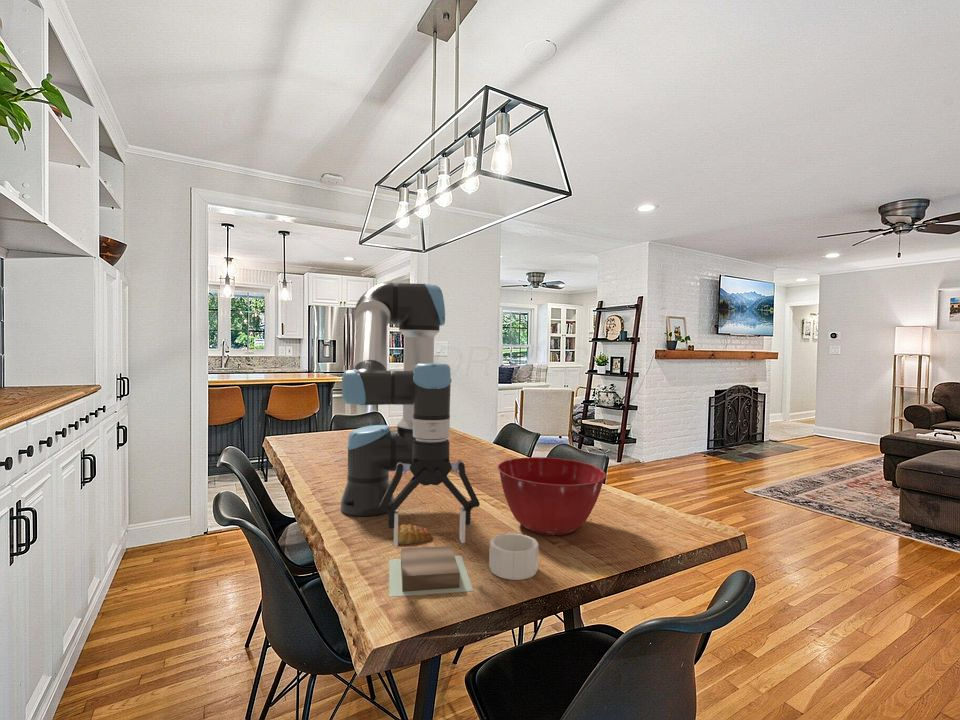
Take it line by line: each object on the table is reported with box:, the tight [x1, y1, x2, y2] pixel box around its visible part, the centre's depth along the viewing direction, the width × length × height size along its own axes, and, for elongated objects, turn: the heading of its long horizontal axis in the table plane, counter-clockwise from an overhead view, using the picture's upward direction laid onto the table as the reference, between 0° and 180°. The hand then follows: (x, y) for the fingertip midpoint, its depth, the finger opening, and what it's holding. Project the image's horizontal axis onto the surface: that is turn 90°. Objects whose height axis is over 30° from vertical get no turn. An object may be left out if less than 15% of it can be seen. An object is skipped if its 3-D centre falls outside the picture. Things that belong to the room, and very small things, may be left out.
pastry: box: [392, 523, 433, 545], centre depth 121 cm, size 9×7×4 cm
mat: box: [388, 555, 474, 598], centre depth 102 cm, size 16×16×1 cm
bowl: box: [488, 532, 539, 581], centre depth 105 cm, size 10×10×6 cm
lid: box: [400, 545, 460, 592], centre depth 102 cm, size 13×11×3 cm
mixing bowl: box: [497, 456, 607, 536], centre depth 132 cm, size 28×28×16 cm
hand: (429, 542), depth 102 cm, fingers open, 13 cm apart
